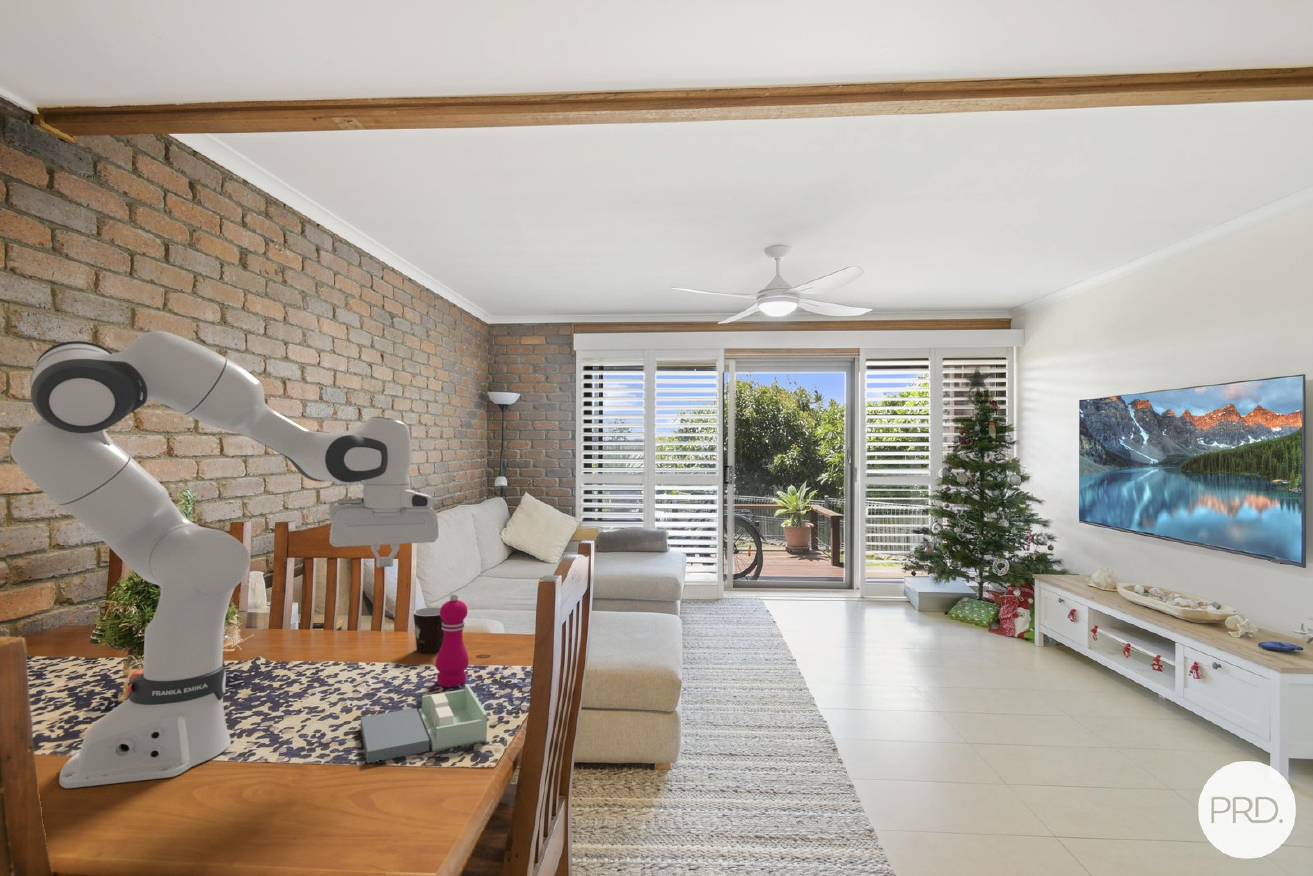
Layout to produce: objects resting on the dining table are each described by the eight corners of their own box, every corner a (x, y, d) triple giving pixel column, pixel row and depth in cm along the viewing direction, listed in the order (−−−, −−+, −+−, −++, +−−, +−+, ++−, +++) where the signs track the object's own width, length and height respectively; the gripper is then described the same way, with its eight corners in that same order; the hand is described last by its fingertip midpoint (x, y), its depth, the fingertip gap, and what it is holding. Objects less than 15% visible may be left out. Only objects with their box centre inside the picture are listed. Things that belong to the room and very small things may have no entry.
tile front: (439, 717, 116) (453, 715, 118) (435, 708, 120) (449, 706, 122) (438, 742, 116) (453, 740, 118) (434, 732, 120) (448, 730, 121)
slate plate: (367, 763, 109) (367, 751, 109) (360, 727, 122) (360, 717, 122) (429, 751, 114) (429, 740, 114) (416, 718, 127) (416, 708, 127)
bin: (432, 752, 114) (433, 723, 114) (418, 716, 128) (419, 691, 128) (486, 741, 118) (487, 714, 118) (467, 708, 132) (467, 684, 132)
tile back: (434, 703, 122) (448, 701, 123) (430, 695, 126) (443, 693, 127) (434, 727, 122) (447, 725, 123) (430, 718, 126) (443, 716, 127)
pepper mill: (458, 689, 142) (460, 598, 142) (428, 686, 143) (431, 596, 144) (473, 677, 149) (476, 591, 149) (445, 674, 151) (448, 589, 151)
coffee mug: (413, 645, 170) (414, 608, 170) (447, 643, 173) (448, 606, 173) (410, 660, 159) (411, 620, 159) (446, 658, 162) (448, 618, 162)
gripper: (329, 500, 122) (327, 573, 122) (441, 498, 132) (439, 565, 132) (328, 497, 128) (326, 567, 128) (435, 495, 138) (433, 560, 138)
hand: (384, 566), depth 130 cm, fingers closed
